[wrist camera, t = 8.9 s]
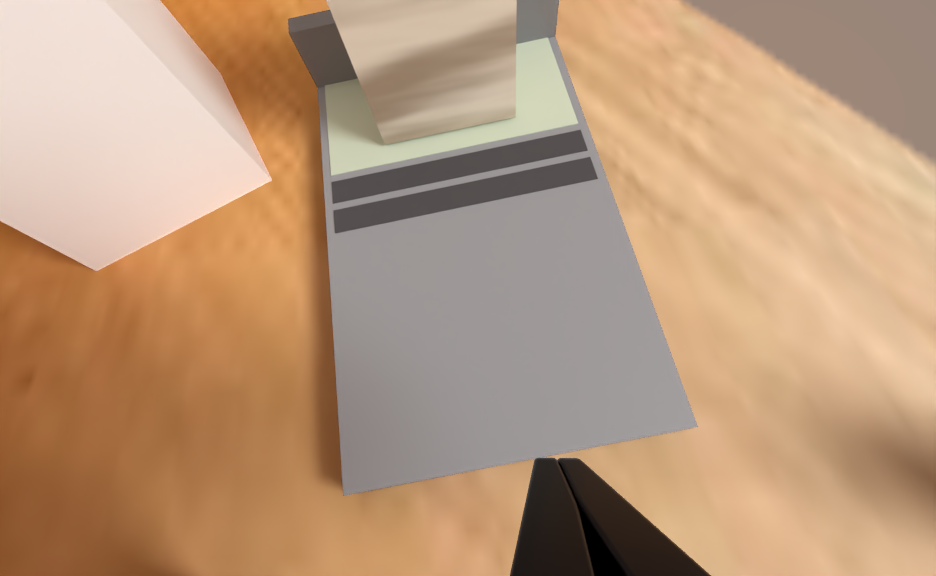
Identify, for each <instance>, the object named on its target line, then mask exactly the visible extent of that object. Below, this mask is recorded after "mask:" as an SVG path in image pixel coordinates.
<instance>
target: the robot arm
mask: <svg viewBox="0 0 936 576" xmlns="http://www.w3.org/2000/svg"><path fill="white" fill-rule="evenodd" d="M510 576H711V575H710V574H709V573H707V572H706V571H705V570H704V569H703V568H702V567H701V566H700V565H698V564H697V563H696V562H695V561H694V560H693V559H692V558H690V557H689V556H688V555H687V554H686V553H685V552H684V551H683V550H681V549H680V548H679V547H678V546H677V545H676V544H675V543H674V542H672V541H671V540H670V539H669V538H668V537H667V536H666V535H665V534H663V533H662V532H661V531H660V530H659V529H658V528H657V527H656V526H654V525H653V524H652V523H651V522H650V521H649V520H648V519H647V518H645V517H644V516H643V515H642V514H641V513H640V512H639V511H638V510H636V509H635V508H634V507H633V506H632V505H631V504H630V503H629V502H627V501H626V500H625V499H624V498H623V497H622V496H621V495H620V494H618V493H617V492H616V491H615V490H614V489H613V488H612V487H611V486H609V485H608V484H607V483H606V482H605V481H604V480H603V479H602V478H600V477H599V476H598V475H597V474H596V473H595V472H594V471H593V470H591V469H590V468H589V467H588V466H587V465H586V464H585V463H584V462H582V461H581V460H580V459H577V458H559V459H558V460H556V459H554V458H536V459H535V461H534V465H533V470H532V475H531V479H530V484H529V489H528V493H527V498H526V503H525V507H524V512H523V517H522V521H521V526H520V531H519V535H518V540H517V545H516V549H515V554H514V559H513V564H512V568H511V573H510Z"/></svg>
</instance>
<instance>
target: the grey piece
mask: <svg viewBox="0 0 936 576" xmlns="http://www.w3.org/2000/svg"><path fill="white" fill-rule="evenodd" d="M558 5H559V0H517V15H516V117H514V118H509V119H504V120H499V121H495V122H490V123H485V124H481V125H476V126H471V127H466V128H462V129H457V130H452V131H447V132H443V133H438V134H433V135H429V136H424V137H419V138H414V139H410V140H405V141H400V142H396V143H391V144H386V145H385V144H384V141H383V139H382V136H381V134H380V132H379V129H378V127H377V124H376V122H375V119H374V117H373V114H372V112H371V109H370V107H369V104H368V102H367V100H366V97H365V95H364V92H363V90H362V87H361V85H360V82H359V80H358V77H357V75H356V73H355V70H354V68H353V65H352V63H351V60H350V58H349V55H348V53H347V50H346V48H345V45H344V43H343V41H342V38H341V36H340V33H339V31H338V28H337V26H336V23H335V21H334V18H333V16H332V13H331V11H330V10H327V11H322V12H318V13H313V14H309V15H304V16H299V17H295V18H290V19H288V24H289V34H290V36H291V38H292V40H293V42H294V44H295V46H296V48H297V50H298V51H299V53H300V55H301V57H302V59H303V61H304V63H305V65H306V67H307V69H308V70H309V72H310V74H311V76H312V78H313V80H314V82H315V84H316V86H317V88H318V101H319V117H320V133H321V149H322V165H323V181H324V197H325V213H326V229H327V244H328V260H329V276H330V292H331V308H332V324H333V340H334V356H335V372H336V388H337V403H338V419H339V435H340V451H341V467H342V483H343V496H345V495H350V494H355V493H361V492H366V491H371V490H376V489H381V488H386V487H391V486H397V485H402V484H407V483H412V482H417V481H422V480H427V479H433V478H438V477H443V476H448V475H453V474H458V473H463V472H469V471H474V470H479V469H484V468H489V467H494V466H500V465H505V464H510V463H515V462H520V461H525V460H530V459H536V458H541V457H546V456H551V455H556V454H561V453H566V452H572V451H577V450H582V449H587V448H592V447H597V446H603V445H608V444H613V443H618V442H623V441H628V440H633V439H639V438H644V437H649V436H654V435H659V434H664V433H669V432H675V431H680V430H685V429H690V428H695V427H698V426H697V423H696V420H695V418H694V415H693V412H692V409H691V407H690V404H689V401H688V399H687V396H686V393H685V390H684V388H683V385H682V382H681V379H680V377H679V374H678V371H677V368H676V366H675V363H674V360H673V357H672V355H671V352H670V349H669V347H668V344H667V341H666V338H665V336H664V333H663V330H662V327H661V325H660V322H659V319H658V316H657V314H656V311H655V308H654V306H653V303H652V300H651V297H650V295H649V292H648V289H647V286H646V284H645V281H644V278H643V275H642V273H641V270H640V267H639V264H638V262H637V259H636V256H635V254H634V251H633V248H632V245H631V243H630V240H629V237H628V234H627V232H626V229H625V226H624V223H623V221H622V218H621V215H620V212H619V210H618V207H617V204H616V202H615V199H614V196H613V193H612V191H611V188H610V185H609V182H608V180H607V177H606V174H605V171H604V169H603V166H602V163H601V160H600V158H599V155H598V152H597V150H596V147H595V144H594V141H593V139H592V136H591V133H590V130H589V128H588V125H587V122H586V119H585V117H584V114H583V111H582V109H581V106H580V103H579V100H578V98H577V95H576V92H575V89H574V87H573V84H572V81H571V78H570V76H569V73H568V70H567V67H566V65H565V62H564V59H563V57H562V54H561V51H560V48H559V46H558V43H557V40H556V37H555V34H556V24H557V14H558Z"/></svg>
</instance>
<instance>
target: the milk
mask: <svg viewBox="0 0 936 576" xmlns="http://www.w3.org/2000/svg"><path fill="white" fill-rule="evenodd" d="M270 181H272V179H271V177H270V175H269V173H268V171H267V168H266V166H265V164H264V162H263V160H262V158H261V156H260V154H259V152H258V150H257V148H256V146H255V144H254V142H253V140H252V138H251V136H250V133H249V131H248V129H247V127H246V125H245V123H244V121H243V119H242V117H241V115H240V113H239V111H238V109H237V107H236V105H235V103H234V100H233V98H232V96H231V94H230V92H229V90H228V88H227V86H226V84H225V82H224V80H223V78H222V76H221V74H220V72H219V71H218V70H217V68H216V67H215V66H214V65H213V64H212V62H211V61H210V60H209V59H208V58H207V56H206V55H205V54H204V53H203V52H202V50H201V49H200V48H199V47H198V46H197V44H196V43H195V42H194V41H193V40H192V38H191V37H190V36H189V35H188V33H187V32H186V31H185V30H184V29H183V27H182V26H181V25H180V24H179V23H178V21H177V20H176V19H175V18H174V17H173V15H172V14H171V13H170V12H169V11H168V9H167V8H166V7H165V6H164V4H163V3H162V2H161V1H160V0H0V221H1V222H3V223H5V224H7V225H9V226H11V227H13V228H15V229H17V230H18V231H20V232H22V233H24V234H26V235H28V236H30V237H32V238H34V239H36V240H38V241H40V242H41V243H43V244H45V245H47V246H49V247H51V248H53V249H55V250H57V251H59V252H61V253H62V254H64V255H66V256H68V257H70V258H72V259H74V260H76V261H78V262H80V263H82V264H83V265H85V266H87V267H89V268H91V269H93V270H95V271H98V270H100V269H102V268H104V267H106V266H108V265H110V264H111V263H113V262H115V261H117V260H119V259H121V258H123V257H125V256H127V255H129V254H131V253H133V252H135V251H137V250H138V249H140V248H142V247H144V246H146V245H148V244H150V243H152V242H154V241H156V240H158V239H160V238H162V237H164V236H166V235H167V234H169V233H171V232H173V231H175V230H177V229H179V228H181V227H183V226H185V225H187V224H189V223H191V222H193V221H194V220H196V219H198V218H200V217H202V216H204V215H206V214H208V213H210V212H212V211H214V210H216V209H218V208H220V207H221V206H223V205H225V204H227V203H229V202H231V201H233V200H235V199H237V198H239V197H241V196H243V195H245V194H247V193H248V192H250V191H252V190H254V189H256V188H258V187H260V186H262V185H264V184H266V183H268V182H270Z"/></svg>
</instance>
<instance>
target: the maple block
mask: <svg viewBox="0 0 936 576" xmlns="http://www.w3.org/2000/svg"><path fill="white" fill-rule="evenodd" d="M326 1H327V4H328V6H329V9H330V11H331V13H332V16H333V18H334V21H335V23H336V26H337V28H338V31H339V33H340V36H341V38H342V41H343V43H344V45H345V48H346V50H347V53H348V55H349V58H350V60H351V63H352V65H353V68H354V70H355V73H356V75H357V77H358V80H359V82H360V85H361V87H362V90H363V92H364V95H365V97H366V100H367V102H368V104H369V107H370V109H371V112H372V114H373V117H374V119H375V122H376V124H377V127H378V129H379V132H380V134H381V136H382V139H383V141H384V144H385V145H386V144H391V143H396V142H400V141H405V140H410V139H414V138H419V137H424V136H429V135H433V134H438V133H443V132H447V131H452V130H457V129H462V128H466V127H471V126H476V125H481V124H485V123H490V122H495V121H499V120H504V119H509V118H514V117H516V15H517V0H326Z"/></svg>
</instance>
